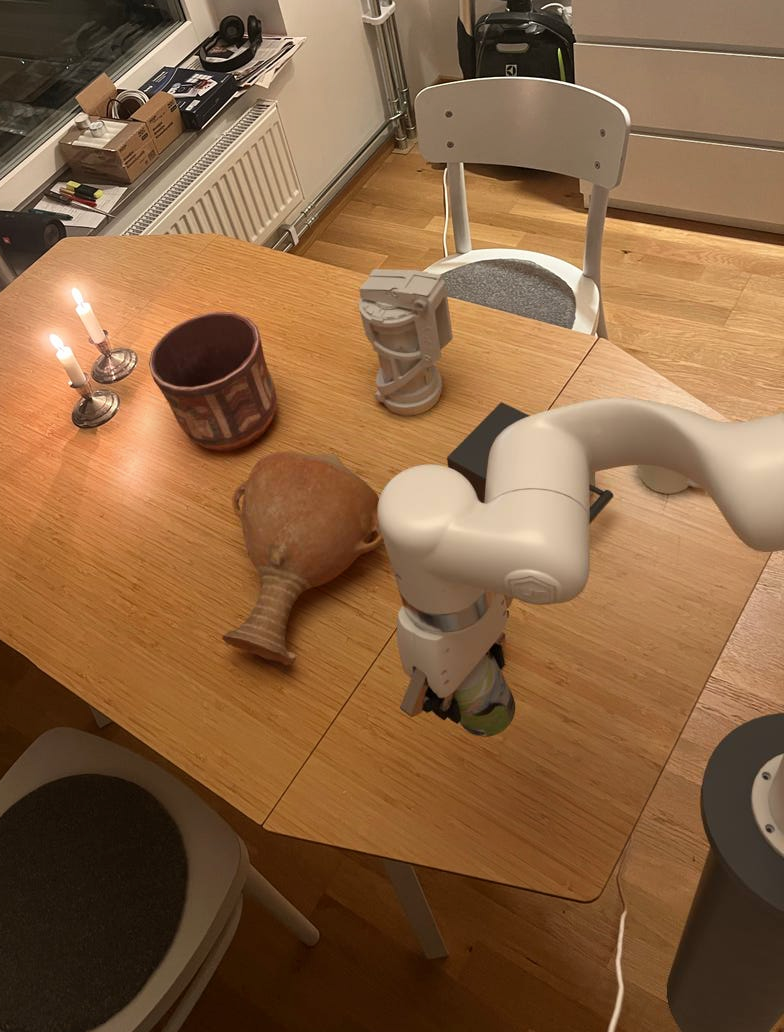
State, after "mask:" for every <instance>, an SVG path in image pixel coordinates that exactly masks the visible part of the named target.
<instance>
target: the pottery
mask: <svg viewBox="0 0 784 1032" xmlns="http://www.w3.org/2000/svg"><path fill="white" fill-rule="evenodd" d="M148 366H149V370H150V374H151V377H152V379H153V381H154V383H155V384H156V386H157V387H158V389H159V390H160V392H161V393H162V395H163V397H164V398H165V400H166V401H167V403H168V406H169V407H170V409H171V411H172V413H173V415H174V418H175V419H176V422H177V423H178V425H179V427H180V428H181V430H182V431H183V433H185V435H186V436H187V437H188V438H189V439H190V440H191V441H192V443H195V444H197V445H199V446H201V447H203V448H206V449H207V450H212V451H221V452H224V451H225V452H226V451H234V450H240V449H242V448H245V447H247V446H248V445H250V444H251V443H253V442H254V441H256V440H257V439H258V438H260V437H262V436H263V434H265V432H266V430H267V429H268V428H269V427H270V426H271V424H272V421H273V419H274V415H275V412H276V410H277V406H278V396H277V392H276V388H275V384H274V381H273V378H272V376H271V373H270V370H269V368H268V365H267V361H266V358H265V353H264V349H263V344H262V340H261V334H260V331H259V327H258V326H257V325H256V324H255V323H254V322H253V321H252V320H251V319H250V318H249V317H247V316H244V315H241V314H239V313H236V312H230V311H214V312H209V313H208V312H207V313H204V314H199V315H196V316H193V317H192V318H189V319H187V320H184V321H182V322H180V323H179V324H177V325H176V326H174V327H172V328H171V329H170V330H168V331H167V332H166V333H165V334H164V335H163V336H162V337H161V338H160V339H159V340H158V341H157V343H156V344H155V346H154V347H153V349H151V352H150V357H149V361H148Z"/></svg>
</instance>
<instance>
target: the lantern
mask: <svg viewBox="0 0 784 1032" xmlns="http://www.w3.org/2000/svg"><path fill="white" fill-rule="evenodd" d="M358 289H359V290H358V291H359V296H360V297H359V300H358V310H359V314H360V318H361V321H362V327H363V331H364V334H365V336H366V339H367V340H368V341H369V343H370V345H372V348H373V351H374V352H376V353H377V357H378V361H379V366H380V368H379V369H378V371H377V374H376V376H375V383H376V387H377V390H376V392H375V394H374V396H373V397H374V400H376V401H378V402H380V403H383V404H384V406H385V407H386V408H387V409H388V410H389V411H390V412H392V413H394V414H396V415H399V416H406V417H408V416H409V417H411V416H418V415H422V414H424V413H425V412H428V411H429V410H431V409H432V408H433V407H434V406H435V405H436V404H437V403H438V402H439V400H440V397H441V393H442V389H443V380H442V379H443V378H442V375H441V373H440V372H439V370H438V369H437V368H436V365H435V364H436V363H437V362H438V361H439V359H441V357H442V351H441V350H443V349H444V348H445V347H446V346H447V345H448V344H450V343H451V342H452V340H453V339H454V335H453V328H452V322H451V321H452V320H451V315H450V308H449V300H448V291H447V285H446V281H445V280H444V279H443V278H442V274H439V273H433V272H428V271H424V270H416V269H413V270H412V269H387V268H385V269H384V268H383V269H382V268H373V270H372V271H371V272H370V273H369V275H368V278H367V279H366V281H365V282H362V284H361V286H359V288H358Z"/></svg>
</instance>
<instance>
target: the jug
mask: <svg viewBox="0 0 784 1032" xmlns="http://www.w3.org/2000/svg"><path fill="white" fill-rule="evenodd" d="M242 496H243V497H242ZM241 497H242V504H241V507H240V499H241ZM379 498H380V497H379V495H378V494H377V492H376V491H375V490H374V489H373V488H372V487H371V486H370V485H369V484H368V483H367V482H366V481H365V480H363V479H362V478H361V477H360V476H358V475H357V474H356V473H354V472H353V471H351V469H349V468H348V467H347V466H346V465H345V464H344V463H343V462H342V460H341V459H340V457H339V456H338V455H336V454H335V453H332V452H331V453H330V452H328V453H322V454H309V453H307V454H306V453H302V452H296V451H275V452H271V453H269V454H267V455H265V456H262V457H260V458H259V459H258V460H257V462H256V463H255V465H254V466H253V468H252V469H251V472H250V473H249V475H248V478H247V479H246V480H245V481H243V482H242V483H241V484H240V485H238V486H237V487H236V489H235V490H234V493H233V495H232V499H231V505H232V509H233V510H234V513H235V515H236V516H237V517H238V519H239V521H240V522H241V526H242V527H241V528H242V533H243V539H244V544H245V548H246V551H247V554H248V557H249V559H250V562H252V564H253V565H254V567H255V568H256V571H257V572H258V573H259V576H260V578H261V589H260V592H259V595H258V597H257V600H256V603H255V605H254V607H253V609H252V610H251V613H250V614H249V616H248V617H247V618H246V619H245V621H244V622H243V623H242V624H241V625H240V626H239V627H238V628H236V629H233V630H230V631H228V632H225V633H224V634H223V635H222V640H223V641H224V643H225V644H226V645H228V646H231V647H233V648H237V649H239V650H242V651H245V652H247V653H250V654H254V655H256V656H259V657H261V658H263V659H265V660H271V661H274V662H280V663H282V664H283V665H285V666H287V665H291V664H294V663H295V662H296V660H297V655H296V653H294V652H292V651H291V652H290V651H288V648H287V645H286V632H287V625H288V621H289V617H290V614H291V612H292V609H293V606H294V604H295V603H296V601H297V599H298V598H299V597H300V595H301V594H302V593H303V592H305V591H307V590H308V589H312V588H316V587H319V586H322V585H324V584H327V583H329V582H330V581H332V580H333V579H335V578H336V577H338V576H339V575H340V574H342V573H343V572H345V571H346V570H347V569H348V568H349V567H350V566H351V565H352V564H353V563H354V562H355V560H356V559H357V558H358V557H359V556H360V555H362V554H365V553H369V552H370V551H373V550H375V549H377V548H378V547H379V546H380V545H382V543H384V540H383V537H382V533H381V530H380V526H379V522H378V516H377V507H378V502H379ZM375 532H376V533H377V534H378V535H377V536H376V537H375V539H374V540H373V541H370V539H371V538H372V536H373V533H375ZM369 541H370V542H369Z"/></svg>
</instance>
